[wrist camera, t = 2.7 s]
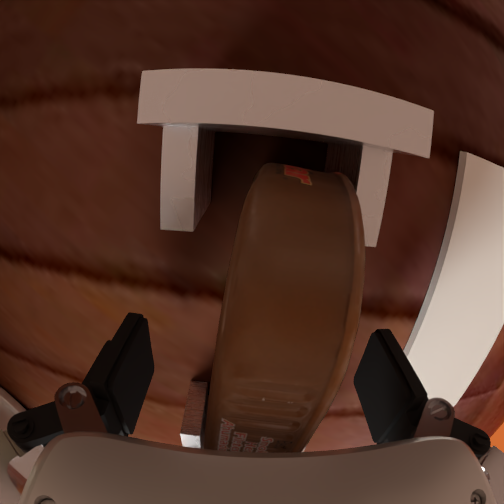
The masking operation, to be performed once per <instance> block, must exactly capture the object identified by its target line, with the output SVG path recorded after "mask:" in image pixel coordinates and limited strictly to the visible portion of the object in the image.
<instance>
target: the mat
mask: <svg viewBox="0 0 504 504" xmlns="http://www.w3.org/2000/svg"><path fill="white" fill-rule="evenodd" d="M503 324H504V168H503V167H501V166H498V165H496V164H494V163H492V162H489V161H487V160H485V159H482V158H480V157H478V156H475V155H473V154H470V153H468V152H463V151H460V155H459V163H458V170H457V177H456V183H455V189H454V194H453V199H452V204H451V209H450V214H449V218H448V223H447V227H446V231H445V235H444V239H443V242H442V246H441V250H440V253H439V257H438V260H437V264H436V267H435V270H434V273H433V276H432V279H431V282H430V285H429V288H428V291H427V294H426V297H425V300H424V302H423V305H422V308H421V310H420V313H419V315H418V318H417V320H416V323H415V325H414V328H413V330H412V333H411V335H410V337H409V340H408V342H407V344H406V346H405V349H404V351H403V352H404V353H405V355H406V357H407V359H408V360H409V362H410V364H411V365H412V367H413V369H414V371H415V372H416V374H417V376H418V378H419V379H420V381H421V383H422V385H423V387H424V388H425V390H426V392H427V394H428V395H427V397H428V399H429V400H430V399H431V398H442V399H445V400H447V401H448V402H449V403H450V404H451V405H452V406H455V405H456V403H457V402H458V400H459V399H460V398H461V396H462V395H463V393H464V392H465V390H466V389H467V387H468V386H469V384H470V383H471V381H472V380H473V378H474V377H475V375H476V373H477V372H478V370H479V368H480V367H481V365H482V363H483V362H484V360H485V358H486V356H487V355H488V353H489V351H490V349H491V347H492V346H493V344H494V342H495V340H496V338H497V336H498V334H499V332H500V330H501V328H502V326H503Z"/></svg>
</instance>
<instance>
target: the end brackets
mask: <svg viewBox="0 0 504 504" xmlns="http://www.w3.org/2000/svg"><path fill="white" fill-rule="evenodd" d="M433 118H434V111H433V110H430V109H427V108H425V107H422V106H419V105H416V104H413V103H410V102H407V101H404V100H401V99H398V98H395V97H392V96H388V95H385V94H381V93H378V92H374V91H370V90H366V89H362V88H358V87H354V86H350V85H345V84H341V83H336V82H331V81H326V80H321V79H315V78H309V77H303V76H296V75H289V74H281V73H273V72H263V71H251V70H236V69H163V70H148V71H142V77H141V85H140V95H139V106H138V118H137V124H146V125H154V126H162V127H163V139H162V158H161V193H160V229H162V230H176V231H191V232H193V231H194V230H195V228H196V226H197V224H198V223H199V221H200V219H201V218H202V216H203V214H204V213H205V211H206V209H207V208H208V206H209V204H210V203H211V186H212V170H213V155H214V142H215V131H216V132H234V133H248V134H259V135H270V136H279V137H288V138H296V139H303V140H310V141H317V142H324V143H327V151H326V160H325V168H324V172H325V173H331V172H340V173H342V174H344V175H346V176H347V177H348V179H349V180H350V181H351V183H352V185H353V187H354V189H355V192H356V194H357V196H358V199H359V203H360V207H361V212H362V220H363V226H364V235H365V246H370V247H376V244H377V239H378V235H379V230H380V225H381V221H382V215H383V210H384V205H385V200H386V194H387V188H388V182H389V175H390V169H391V162H392V154H393V152H394V153H400V154H407V155H413V156H418V157H424V158H429V157H430V149H431V140H432V130H433ZM207 410H208V392H207V382H198V381H191V382H190V387H189V392H188V397H187V402H186V406H185V412H184V417H183V422H182V427H181V432H180V435H181V441H182V446H184V447H192V448H200V449H203V448H204V437H205V428H206V419H207ZM306 446H307V445H306ZM305 448H306V447H305ZM305 448H304V449H303V451H302V452H304V450H305Z"/></svg>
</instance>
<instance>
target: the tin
mask: <svg viewBox="0 0 504 504" xmlns="http://www.w3.org/2000/svg"><path fill="white" fill-rule="evenodd" d="M364 271H365V235H364V226H363V220H362V212H361V207H360V203H359V199H358V196H357V194H356V192H355V189H354V187H353V185H352V183H351V181H350V180H349V179H348V177H347V176H346V175H344V174H342V173H340V172H331V173H325V172H319V171H314V170H310V169H305V168H300V167H296V166H291V165H285V164H278V163H266V164H265V165H263V166H262V168H261V169H260V170H259V171H258V172H257V173H256V175H255V177H254V178H253V183H252V186H251V188H250V190H249V192H248V194H247V196H246V198H245V201H244V205H243V208H242V212H241V215H240V219H239V223H238V227H237V232H236V236H235V240H234V245H233V250H232V255H231V260H230V264H229V269H228V274H227V279H226V285H225V292H224V298H223V303H222V309H221V315H220V321H219V327H218V334H217V341H216V348H215V355H214V361H213V367H212V374H211V383H210V392H209V400H208V410H207V419H206V428H205V437H204V448H203V449H209V450H220V451H234V452H255V453H293V452H302V451H303V449H304V448H305V447H306V445H307V444H308V442H309V441H310V439H311V437H312V435H313V434H314V432H315V431H316V429H317V427H318V426H319V424H320V423H321V421H322V420H323V418H324V416H325V415H326V413H327V411H328V410H329V408H330V406H331V404H332V402H333V400H334V398H335V396H336V394H337V392H338V390H339V388H340V385H341V383H342V381H343V378H344V376H345V373H346V371H347V367H348V364H349V360H350V357H351V353H352V349H353V345H354V341H355V338H356V334H357V330H358V326H359V319H360V313H361V303H362V297H363V286H364Z"/></svg>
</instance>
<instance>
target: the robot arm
mask: <svg viewBox="0 0 504 504" xmlns="http://www.w3.org/2000/svg"><path fill="white" fill-rule="evenodd" d="M153 373H154V361H153V355H152V349H151V342H150V335H149V328H148V321H147V319H146V318H144V317H143V315H142V314H137V313H128V314H127V316H126V317H125V319H124V321H123V322H122V324H121V326H120V327H119V329H118V330H117V332H116V334H115V335H114V337H113V339H112V341H111V340H108V341H107V342H106V343H105V345H104V346H103V348H102V350H101V351H100V353H99V355H98V356H97V358H96V360H95V362H94V363H93V365H92V367H91V368H90V370H89V372H88V374H87V375H86V377H85V379H84V381H83V383H82V384H80V383H75V382H72V383H67V384H65V385H63V386H61V387H60V388H59V389H58V390H57V392H56V394H55V401H54V402H51V403H48V404H45V405H42V406H39V407H36V408H33V409H30V410H26V409H25V408H24V407H23V406H22V405H20V404H19V403H18V402H17V401H16V400H15V399H14V398H13V397H12V396H11V395H9V394H8V393H7V392H6V391H5V390H4V389H2V388H1V387H0V504H504V453H503V452H502V451H500V450H499V449H498V448H497V447H495V446H493V447H490V438H489V437H488V435H487V434H486V433H485V432H484V431H482V430H481V429H478V428H476V427H474V426H472V425H469V424H467V423H465V422H463V421H460V420H458V419H456V418H454V416H455V411H454V408H453V406H452V405H451V404H450V403H449V402H448V401H447V400H445V399H442V398H431V399H430V400H429V399H428V397H427V395H428V394H427V392H426V390H425V388H424V387H423V385H422V383H421V381H420V379H419V378H418V376H417V374H416V372H415V371H414V369H413V367H412V365H411V364H410V362H409V360H408V359H407V357H406V355H405V353H404V352H403V350H402V348H401V347H400V345H399V343H398V342H397V340H396V339H395V337H394V335H393V334H392V332H391V331H390V329H377V330H376V331H375V332H374V333H372V334H371V336H370V339H369V341H368V344H367V346H366V349H365V352H364V354H363V357H362V359H361V362H360V364H359V366H358V369H357V371H356V374H355V376H354V385H355V388H356V391H357V394H358V397H359V400H360V403H361V405H362V408H363V411H364V414H365V417H366V420H367V423H368V426H369V429H370V433H371V436H372V439H373V441H374V442H375V443H377V444H376V445H370V446H363V447H356V448H348V449H339V450H328V451H314V452H293V453H255V452H234V451H220V450H209V449H200V448H192V447H184V446H177V445H171V444H165V443H159V442H153V441H148V440H142V439H137V438H132V437H128V434H133V432H134V429H135V426H136V423H137V420H138V417H139V414H140V411H141V408H142V405H143V402H144V399H145V396H146V393H147V390H148V387H149V385H150V382H151V379H152V376H153Z"/></svg>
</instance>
